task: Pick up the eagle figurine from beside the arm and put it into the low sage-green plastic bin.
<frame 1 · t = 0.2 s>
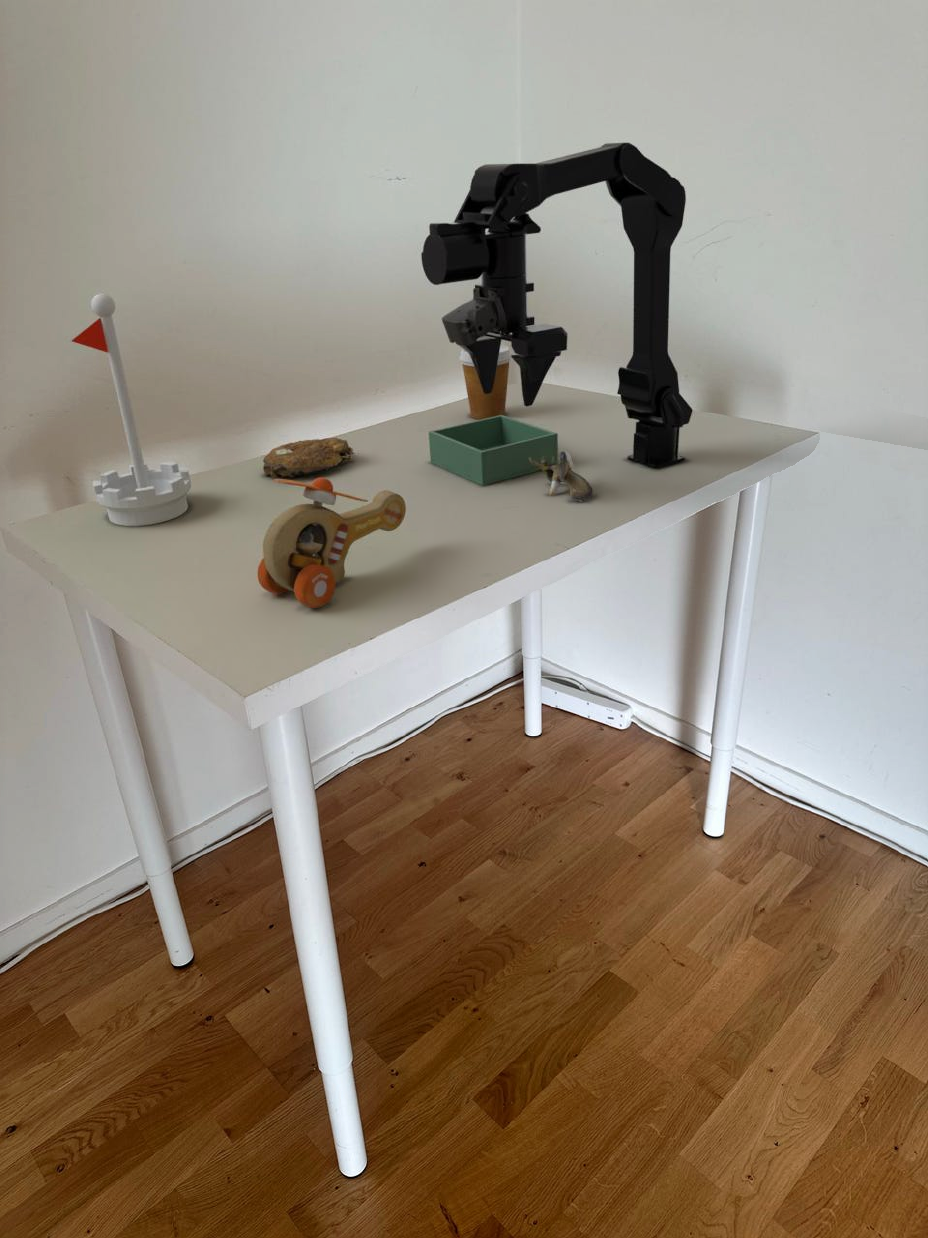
hand: (507, 399, 121), 14 cm above the table, tool pointing down, fingers open, 9 cm apart
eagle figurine: (563, 493, 130), on the table
toy helicopter: (337, 581, 107), on the table
disposable coffee cup: (487, 416, 169), on the table
bin: (493, 463, 143), on the table
decorative rock: (310, 468, 146), on the table
flag stand: (149, 512, 132), on the table
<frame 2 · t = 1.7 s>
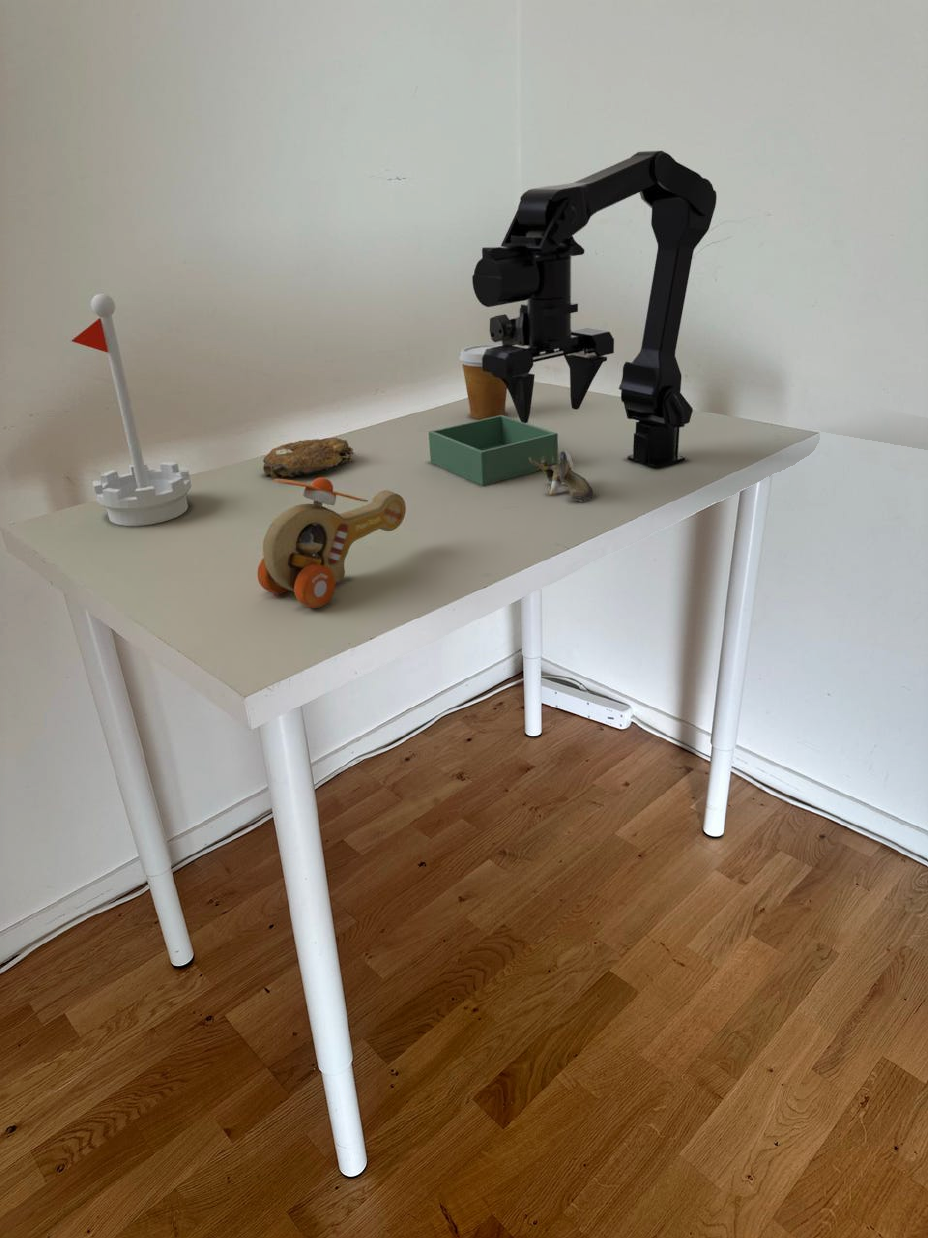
hand: (550, 415, 124), 11 cm above the table, tool pointing down, fingers open, 9 cm apart
nothing on the table moved.
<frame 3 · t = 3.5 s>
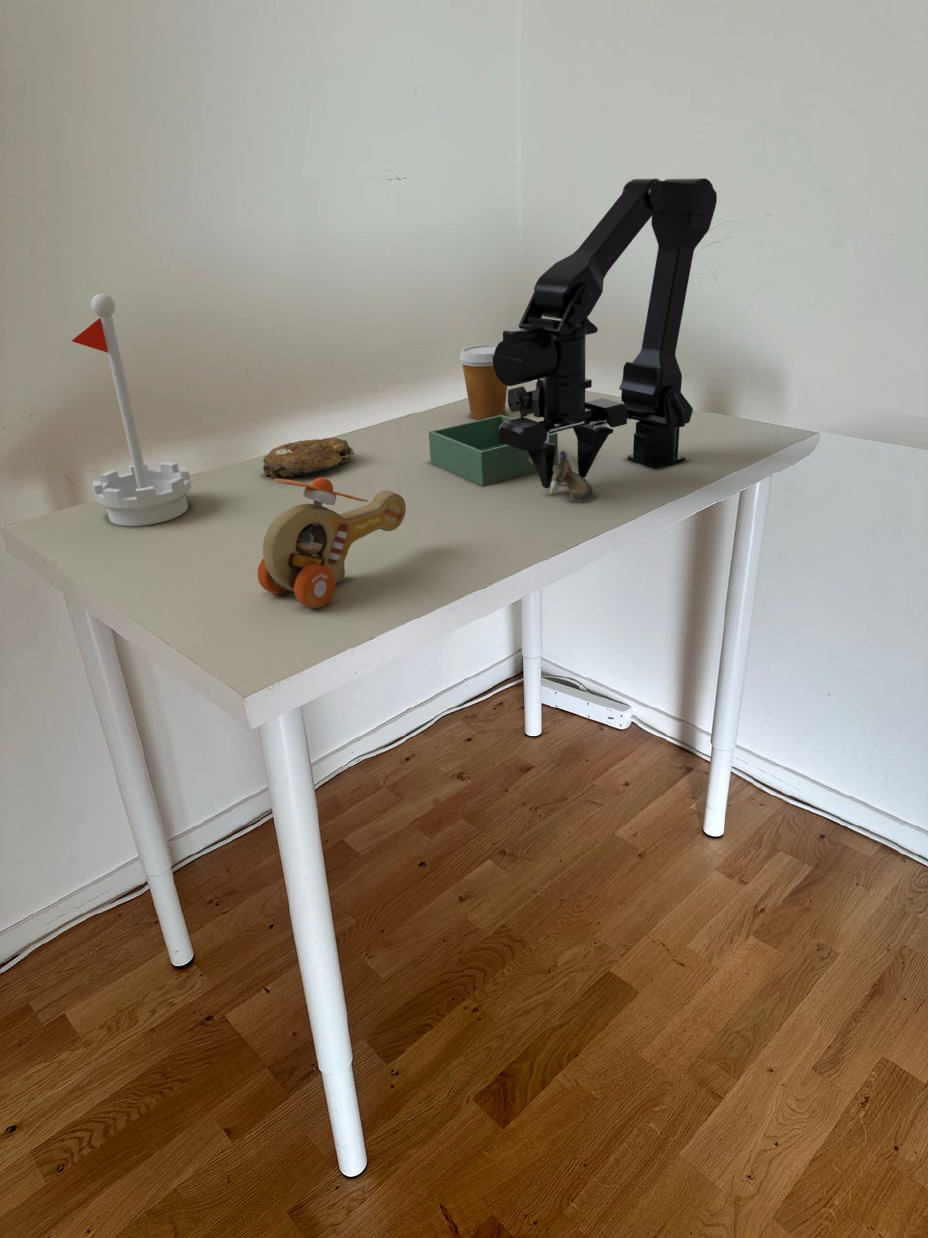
hand: (564, 482, 130), 2 cm above the table, tool pointing down, fingers closed on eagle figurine, 6 cm apart
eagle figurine: (563, 493, 130), on the table, touching gripper
everything else where it was.
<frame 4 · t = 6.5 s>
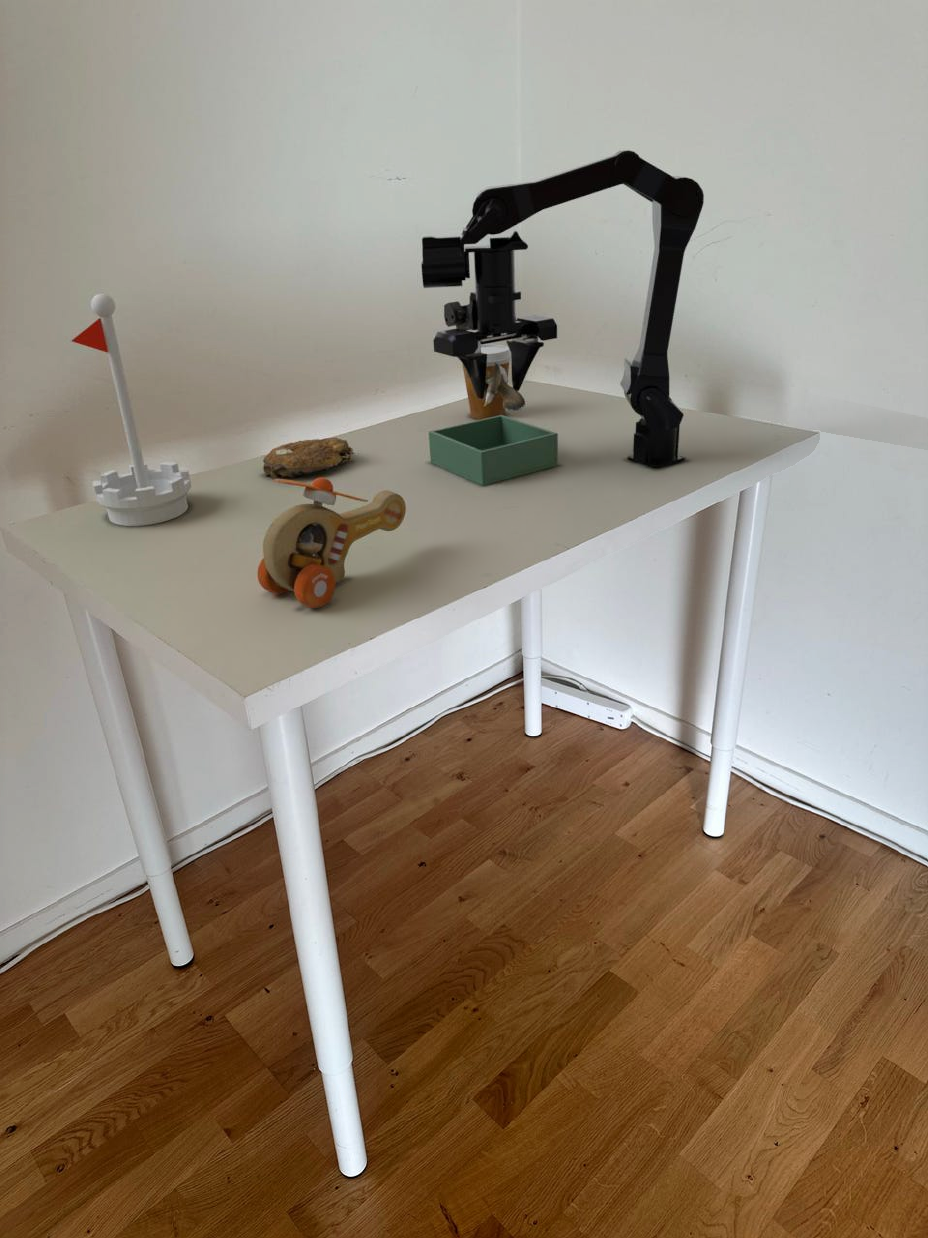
hand: (498, 394, 136), 11 cm above the table, tool pointing down, fingers closed on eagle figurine, 6 cm apart
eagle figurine: (498, 405, 137), point 10 cm above the table, touching gripper
everything else where it was.
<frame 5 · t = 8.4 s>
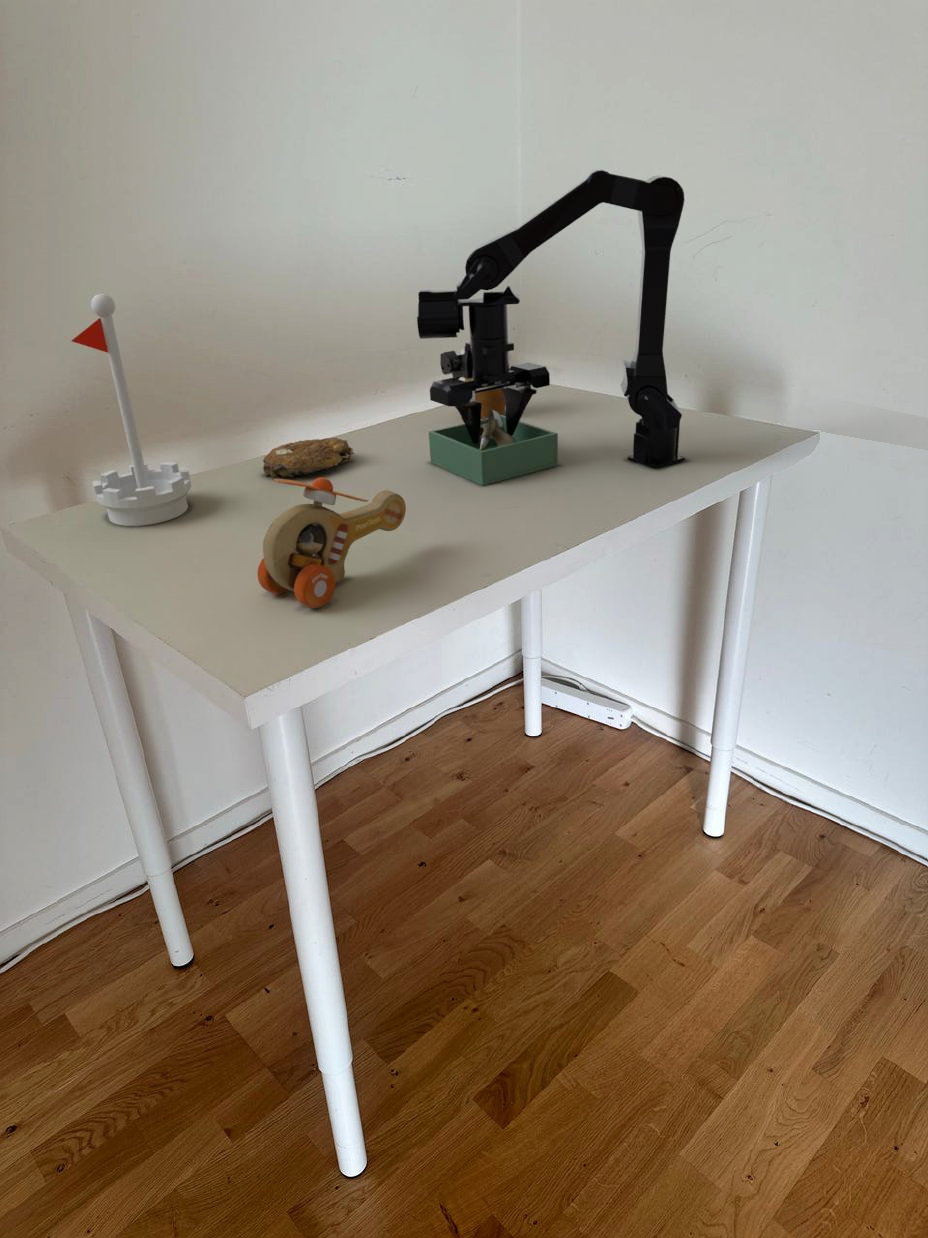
hand: (493, 439, 141), 4 cm above the table, tool pointing down, fingers closed on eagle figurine, 6 cm apart
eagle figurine: (492, 450, 142), point 2 cm above the table, touching gripper
everything else where it was.
when the fingers open (2 cm above the table, at t = 9.5 s): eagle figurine stays where it is, resting on bin.
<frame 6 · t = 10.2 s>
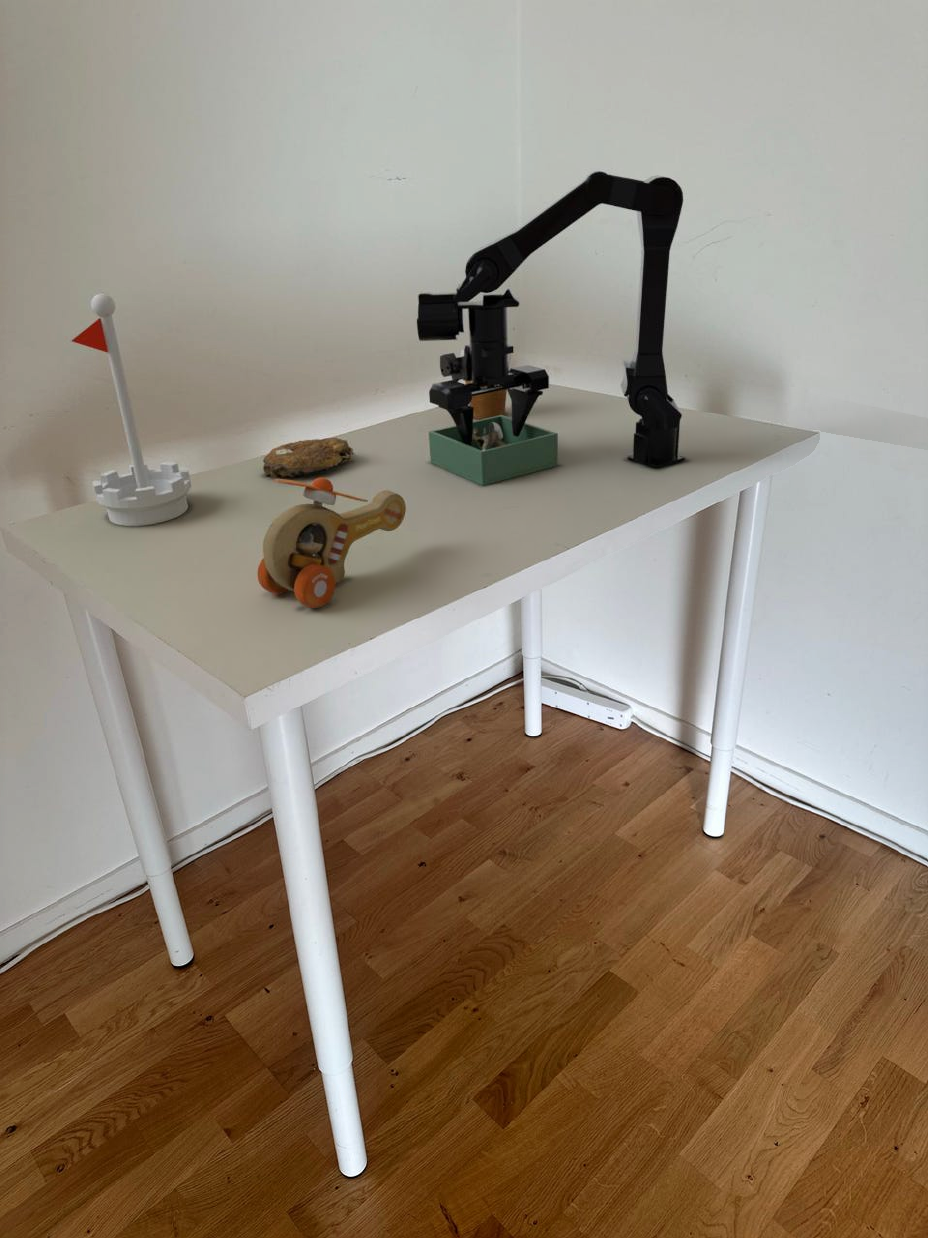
hand: (492, 441, 142), 4 cm above the table, tool pointing down, fingers open, 9 cm apart
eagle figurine: (493, 461, 143), resting on bin
everything else where it was.
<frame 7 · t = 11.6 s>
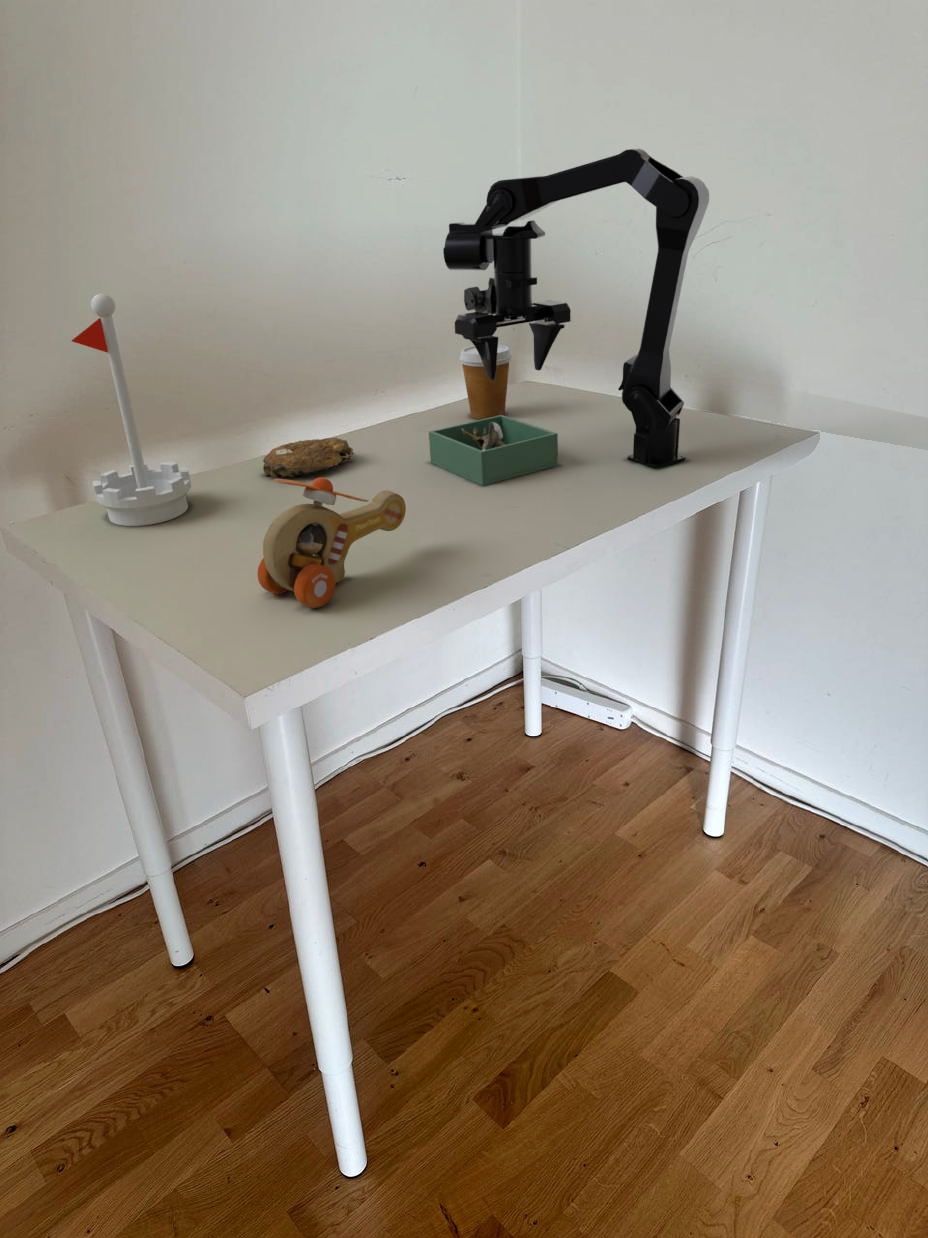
hand: (515, 374, 145), 12 cm above the table, tool pointing down, fingers open, 9 cm apart
nothing on the table moved.
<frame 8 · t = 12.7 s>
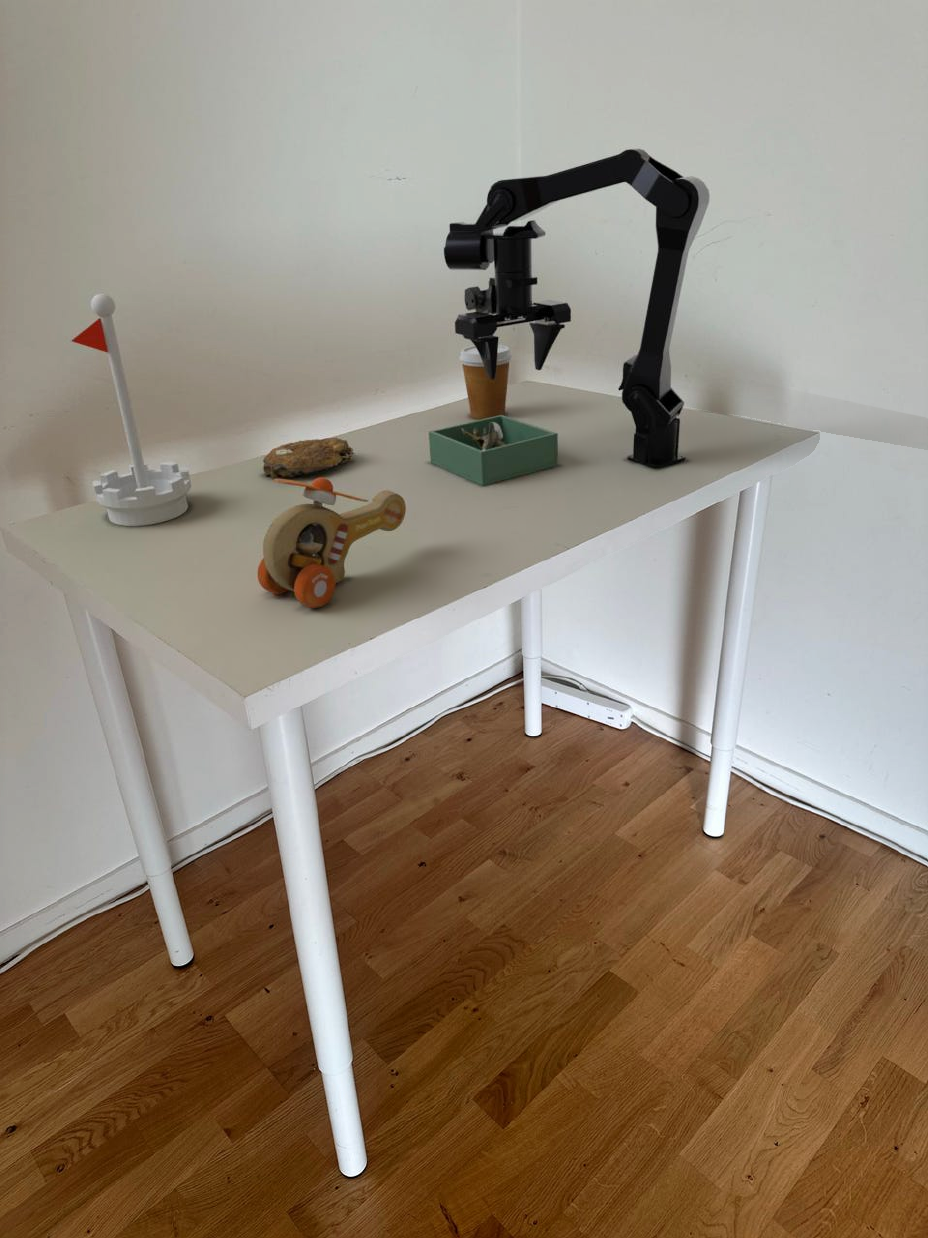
hand: (515, 374, 145), 12 cm above the table, tool pointing down, fingers open, 9 cm apart
nothing on the table moved.
at the end: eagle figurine inside the target area in the bin (0.1 cm from its centre), point 0.4 cm above the bin's base; the gripper is holding nothing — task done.
